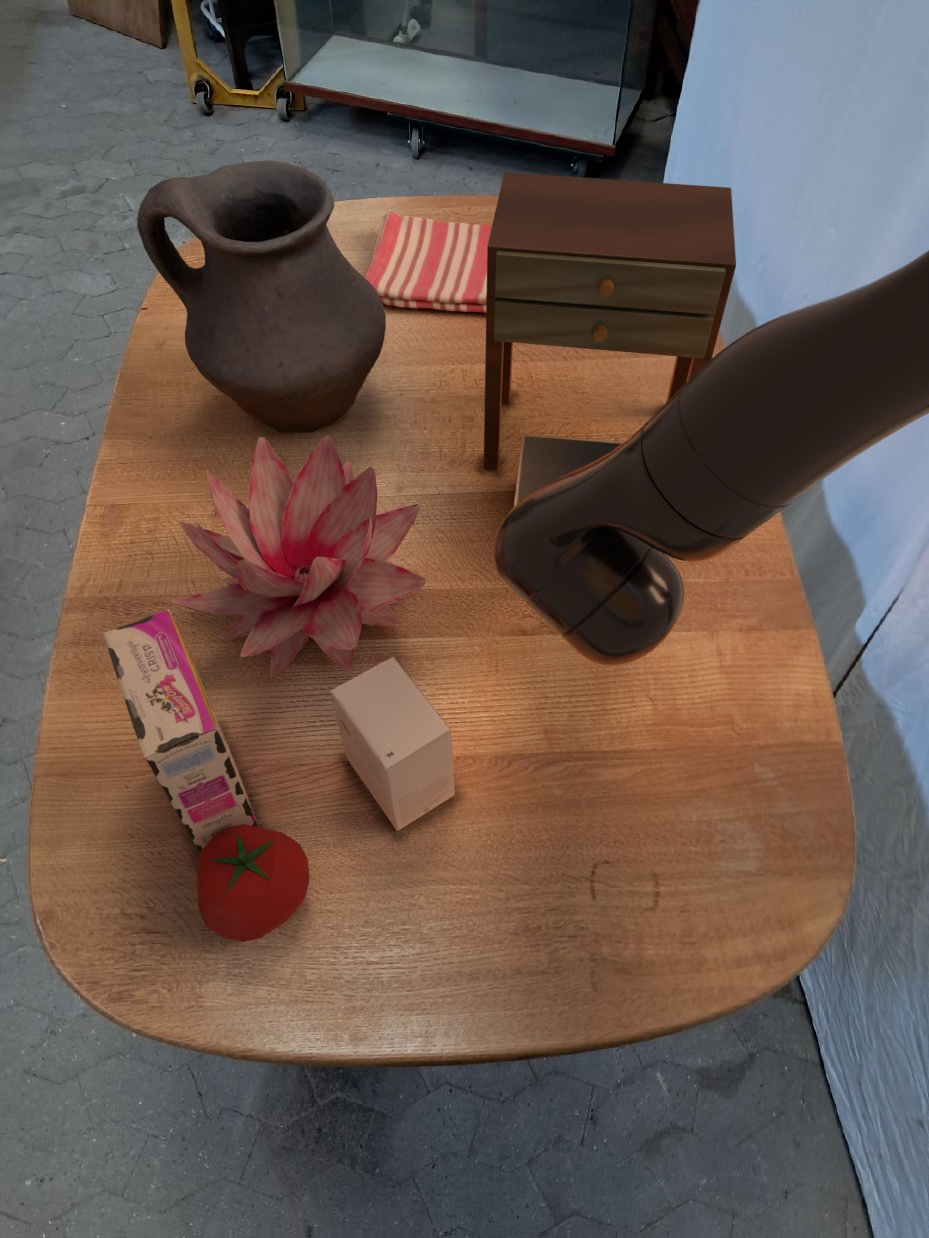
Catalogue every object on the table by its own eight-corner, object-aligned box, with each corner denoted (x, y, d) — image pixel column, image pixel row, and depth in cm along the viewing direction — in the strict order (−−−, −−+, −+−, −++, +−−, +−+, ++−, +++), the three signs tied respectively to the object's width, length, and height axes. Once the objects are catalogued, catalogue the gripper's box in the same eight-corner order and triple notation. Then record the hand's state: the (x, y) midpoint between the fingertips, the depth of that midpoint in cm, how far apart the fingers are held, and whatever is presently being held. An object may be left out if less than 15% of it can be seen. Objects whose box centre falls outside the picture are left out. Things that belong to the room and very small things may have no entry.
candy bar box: (266, 835, 70) (219, 729, 57) (204, 863, 69) (141, 762, 56) (221, 723, 76) (169, 604, 63) (163, 747, 75) (97, 631, 62)
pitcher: (394, 464, 94) (373, 242, 74) (183, 475, 94) (105, 253, 74) (390, 342, 107) (372, 123, 87) (204, 351, 106) (142, 131, 86)
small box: (456, 796, 72) (454, 730, 64) (396, 834, 70) (386, 771, 62) (402, 724, 76) (394, 653, 68) (344, 757, 74) (328, 689, 66)
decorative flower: (192, 726, 76) (140, 619, 64) (197, 537, 89) (154, 418, 76) (445, 691, 78) (441, 581, 66) (414, 511, 90) (406, 391, 78)
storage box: (619, 573, 86) (630, 522, 80) (509, 563, 86) (512, 512, 81) (621, 494, 92) (631, 442, 86) (519, 486, 93) (522, 434, 87)
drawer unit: (678, 498, 91) (737, 275, 71) (481, 478, 93) (485, 255, 73) (678, 410, 99) (731, 187, 79) (497, 394, 101) (504, 172, 81)
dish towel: (383, 232, 121) (381, 207, 118) (558, 243, 119) (560, 218, 116) (359, 309, 111) (356, 283, 108) (550, 322, 109) (552, 296, 106)
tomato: (215, 847, 70) (191, 806, 64) (319, 845, 70) (305, 804, 64) (198, 953, 65) (172, 920, 59) (310, 951, 65) (294, 918, 59)
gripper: (677, 509, 64) (649, 506, 81) (491, 491, 65) (502, 492, 82) (664, 614, 65) (639, 589, 82) (481, 595, 66) (494, 574, 83)
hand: (571, 540), depth 82 cm, fingers closed
